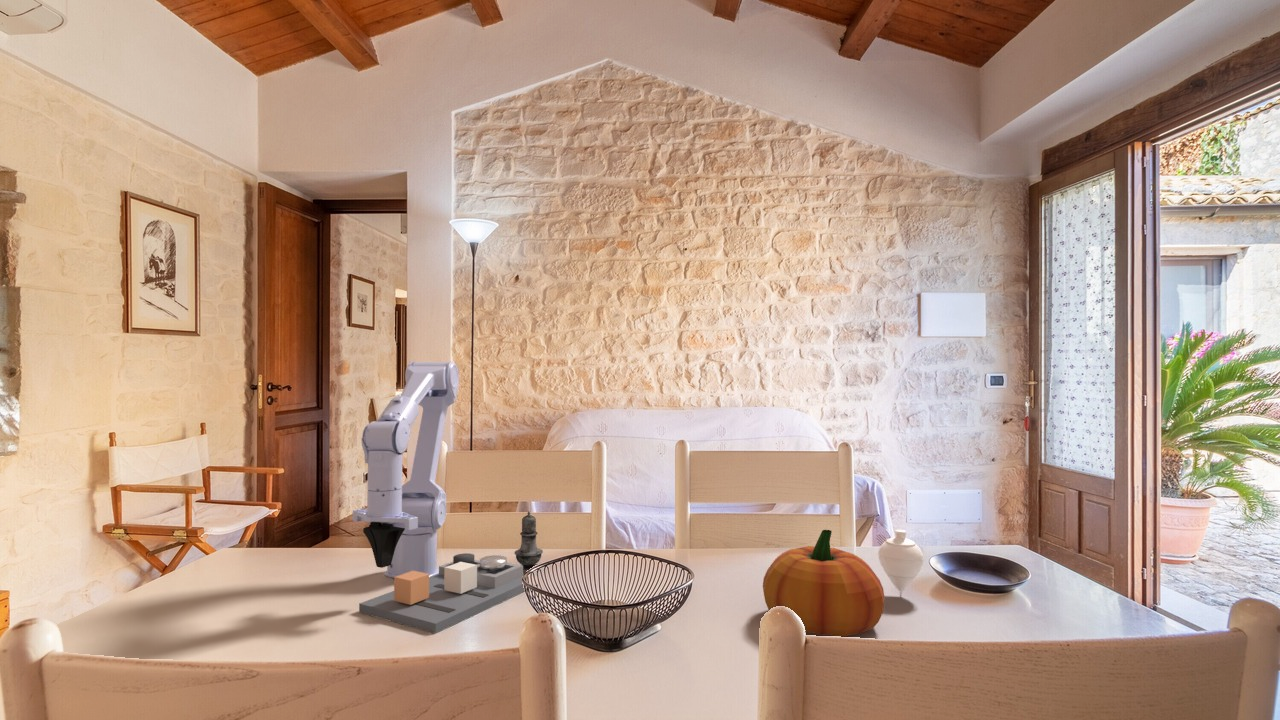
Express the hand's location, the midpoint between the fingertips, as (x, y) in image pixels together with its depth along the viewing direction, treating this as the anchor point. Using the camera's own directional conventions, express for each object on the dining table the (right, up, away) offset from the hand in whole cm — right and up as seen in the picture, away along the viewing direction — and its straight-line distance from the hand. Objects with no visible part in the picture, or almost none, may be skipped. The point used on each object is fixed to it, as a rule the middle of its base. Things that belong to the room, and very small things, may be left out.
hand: (383, 565), depth 112 cm
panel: (+12, -7, +3) cm, 14 cm away
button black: (+11, -4, +12) cm, 17 cm away
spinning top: (+93, -7, +4) cm, 94 cm away
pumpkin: (+75, -7, -8) cm, 76 cm away
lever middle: (+13, -5, +2) cm, 14 cm away
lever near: (+6, -5, -3) cm, 8 cm away
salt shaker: (+22, -7, +20) cm, 31 cm away
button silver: (+17, -3, +9) cm, 20 cm away
